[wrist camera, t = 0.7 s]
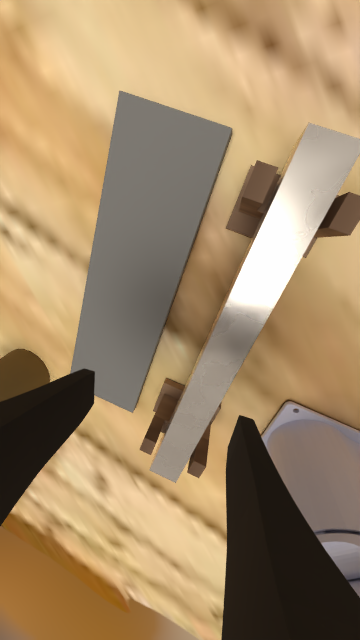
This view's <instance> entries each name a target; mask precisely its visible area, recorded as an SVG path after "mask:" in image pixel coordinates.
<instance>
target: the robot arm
mask: <svg viewBox="0 0 360 640" xmlns="http://www.w3.org/2000/svg"><path fill="white" fill-rule="evenodd" d="M94 387H95V371H92V370H88V369H85V368H84V369H81V370H78V371H76V372H73V373H71V374H69V375H66V376H64V377H62V378H59V379H57V380H55V381H52V382H50V383H48V384H45V385H43V386H41V387H38V388H36V389H33V390H30V391H28V392H25V393H23V394H20V395H17V396H15V397H12V398H9V399H7V400H4V401H1V402H0V526H1V524H2V523H3V522H4V520H5V519H6V517H7V516H8V514H9V513H10V512H11V510H12V509H13V507H14V506H15V504H16V503H17V501H18V500H19V499H20V497H21V496H22V495H23V493H24V492H25V490H26V489H27V488H28V486H29V485H30V484H31V482H32V481H33V479H34V478H35V477H36V475H37V474H38V473H39V472H40V470H41V469H42V468H43V467H44V465H45V464H46V463H47V462H48V461H49V460H50V458H51V457H52V456H53V455H54V454H55V453H56V451H57V450H58V449H59V448H60V447H61V446H62V444H63V443H64V442H65V441H66V440H67V439H68V438H69V436H70V435H71V434H72V433H73V432H74V430H75V429H76V428H77V427H78V426H79V425H80V423H81V422H82V421H83V419H84V418H85V416H86V415H87V413H88V412H89V410H90V409H91V407H92V406H93V404H94ZM293 409H297V410H293ZM226 507H227V559H226V578H225V595H224V611H223V626H222V640H360V431H358V430H356V429H354V428H352V427H349V426H347V425H345V424H342V423H340V422H338V421H335V420H333V419H331V418H328V417H326V416H324V415H322V414H319V413H317V412H315V411H312V410H310V409H308V408H305V407H303V406H301V405H298V404H296V403H294V402H291V401H288V402H286V403H285V404H284V405H283V406H282V408H281V409H280V411H279V412H278V413H277V415H276V416H275V418H274V419H273V420H272V422H271V423H270V425H269V426H268V427H267V429H266V430H265V431H264V433H263V434H262V436H261V435H260V433H259V431H258V429H257V426H256V424H255V422H254V420H253V419H250V418H247V417H244V416H240V415H239V417H238V420H237V423H236V426H235V429H234V432H233V434H232V437H231V440H230V443H229V446H228V452H227V463H226Z"/></svg>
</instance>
